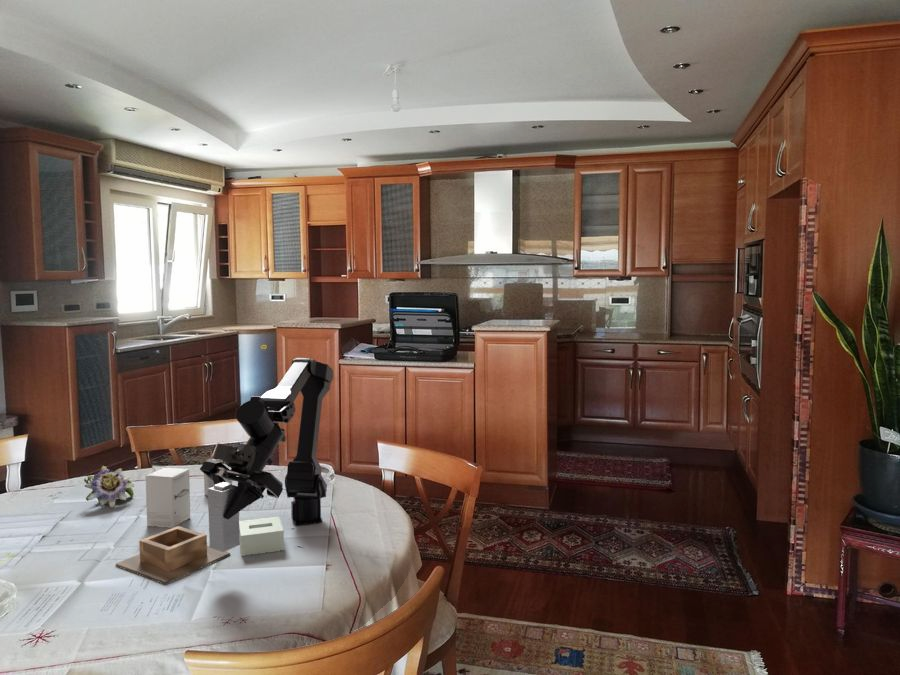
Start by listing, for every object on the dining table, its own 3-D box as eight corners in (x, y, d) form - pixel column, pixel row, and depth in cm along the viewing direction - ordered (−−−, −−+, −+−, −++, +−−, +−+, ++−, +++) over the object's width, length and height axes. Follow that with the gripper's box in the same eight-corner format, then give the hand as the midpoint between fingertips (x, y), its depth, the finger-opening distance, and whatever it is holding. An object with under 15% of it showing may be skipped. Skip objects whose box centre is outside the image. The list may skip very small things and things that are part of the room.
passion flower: (112, 527, 173) (86, 499, 165) (93, 510, 179) (67, 483, 172) (148, 495, 179) (125, 467, 171) (128, 480, 185) (105, 452, 178)
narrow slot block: (279, 535, 154) (279, 516, 154) (283, 550, 146) (283, 530, 145) (239, 540, 151) (238, 521, 151) (241, 555, 143) (240, 535, 142)
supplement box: (173, 528, 158) (171, 477, 156) (146, 526, 159) (144, 475, 158) (191, 517, 165) (190, 468, 164) (165, 515, 166) (163, 466, 165)
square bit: (225, 540, 134) (224, 480, 133) (239, 544, 132) (238, 483, 130) (209, 547, 130) (207, 485, 129) (223, 552, 128) (221, 489, 127)
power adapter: (227, 492, 184) (226, 450, 183) (208, 496, 180) (207, 453, 179) (222, 489, 187) (221, 448, 185) (203, 494, 183) (202, 451, 182)
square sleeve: (181, 539, 151) (181, 518, 151) (230, 555, 143) (229, 532, 143) (115, 565, 137) (114, 542, 137) (165, 584, 129) (164, 559, 129)
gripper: (205, 421, 137) (160, 487, 128) (271, 432, 127) (226, 505, 119) (236, 450, 144) (196, 514, 136) (300, 462, 135) (260, 533, 127)
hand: (218, 516), depth 129 cm, fingers closed on square bit, 4 cm apart
